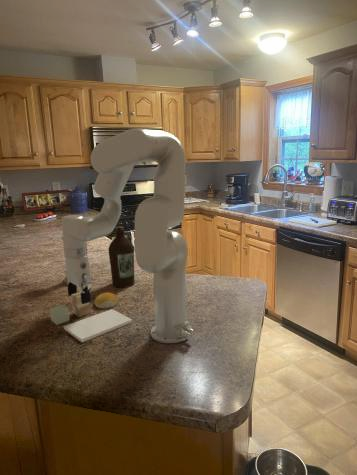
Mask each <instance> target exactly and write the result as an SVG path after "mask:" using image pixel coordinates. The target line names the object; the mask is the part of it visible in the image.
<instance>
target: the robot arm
mask: <svg viewBox="0 0 357 475" xmlns="http://www.w3.org/2000/svg"><path fill="white" fill-rule="evenodd" d="M183 146H184V145H183V144H182V143H181V141H180V140H179V139H178V138H177V137H175V136H174V135H173V134H171V133H169V132H167V131H163V130H160V129H159V130H158V129H150V128H140V127H139V128H130V129H127V130H124V131H123V132H121V133H118V134H116V135H114V136H111V137H109V138H107V139H105V140H103V141H100V142H99V143H97V144H96V145H95V146H94V148H93V149H92V151H91V153H90V164H91V166H92V168H93V169H94V171H95V172H97V173H98V175H97V177H96V180H95V182H94V185H93V189H94V192H95V193H96V194H97V195H98V196H99V197H101V198H103V199H104V202H103V206H102V207H101V210H100V212H99V214H95V215H90V216H88V217H87V216H86V217H84V216H83V215H81V214H80V215H79V214H70V215H69V214H68V215H64V216H62V218H61V232H62V235H61V236H62V237H63V240H62V247H63V255H64V256H63V257H64V259H65V260H64V261H65V263H64V264H65V270H64V273H65V277H66V279H67V283H66V285H67V295H68V296H69V297H71V295H72V294H75V293H78V287H79V289H80V292H82V293H81V303H82V304H85V303H88V302H90V303H91V300H92V298H91V291H92V290H91V289H92V279H91V275H92V274H91V273H92V272H91V267H90V261H89V258H88V246H87V242H91V241H93V240H96V239H99V238H103V237H107V236H109V235H110V234H111V233H112V232H113V231H114V229H116V226H117V224H118V222H119V220H120V218H121V215H122V200H121V196H122V193H123V192H124V189H125V188H126V186H127V185H126V184H127V182H128V180H129V178H130V176H131V174H132V171H133V169H134V167H135V164H137V163H150V162H151V163H152V162H156V163H157V166H156V170H155V174H154V178H153V196H150V197H148V198H146V199H144V200H142V201H141V202H140V203H139V204H138V206H137V208H136V210H135V215H134V257H135V261H136V264H137V266H138V267H139V268H140V269H141V270H142V271H143V272H145V273H146V274H152V275H153V278H152V279H153V280H152V281H153V282H152V283H153V302H154V303H153V304H154V321H155V322H154V323H155V324H154V325H153V326H152V327H151V329H150V336H151V338H152V339H153V340H154V341H156V342H159V343H163V344H176V343H182V342H184V341H185V342H186V340H187V341H189V340H192V336H193V335H194V334H195V330H194V329H193V328H192V327H191V325H190V321H188V320H187V319H188V318H187V286H186V285H187V283H186V281H187V280H186V279H187V278H186V277H187V276H186V271H187V261H188V260H187V259H188V252H189V251H188V243H187V241H186V238H185V237H184V236H183V234H181V233H179V232H177V231H174V230H170V229H173V228H175V227H176V226H180V224H181V223H182V222H183V220H184V217H185V199H186V198H185V194H186V192H185V189H186V186H185V185H186V184H185V183H186V182H185V181H186V166H187V165H186V161H187V159H186V158H187V157H186V152H185V148H184V147H183ZM84 282H85V283H84ZM84 286H85V287H84Z"/></svg>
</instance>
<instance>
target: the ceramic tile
mask: <svg viewBox="0 0 357 475" xmlns="http://www.w3.org/2000/svg"><path fill="white" fill-rule="evenodd" d="M132 323H133V319H131V318H130V317H127V316H126V315H124V314H122V313H120V312H118V311H117V310H114V309H108V310H106V311H103V312H100V313H98V314H95V315H91V316H89V317H85V318H84V319H80V320H77V321H75V322H72V323H70V324H66V325H64V326H63V330H65V332H68V334H69V335H71V336H72V337H74V338H75V339H76V340H78V341H79V342H80V343H84V342H88V341H90V340H92V339H94V338H97V337H100V336H102V335H104V334H107V333H110V332H112V331H115V330H118V329H119V328H122V327H124V326H127V325H129V324H132Z"/></svg>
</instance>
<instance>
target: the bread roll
mask: <svg viewBox="0 0 357 475" xmlns="http://www.w3.org/2000/svg"><path fill="white" fill-rule="evenodd" d="M93 302H94V305H95V307H97V308H99V309H109V308H113V307H115V306H116V305H117V303H118V298H117V295H116V294H114V293H112V292H103V293H100V294H99V295H97V296H96V297H95V300H94V301H93Z"/></svg>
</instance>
